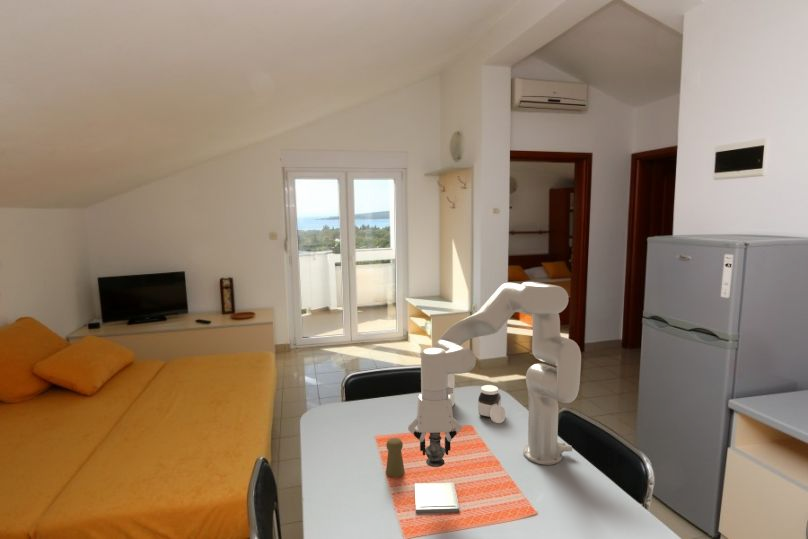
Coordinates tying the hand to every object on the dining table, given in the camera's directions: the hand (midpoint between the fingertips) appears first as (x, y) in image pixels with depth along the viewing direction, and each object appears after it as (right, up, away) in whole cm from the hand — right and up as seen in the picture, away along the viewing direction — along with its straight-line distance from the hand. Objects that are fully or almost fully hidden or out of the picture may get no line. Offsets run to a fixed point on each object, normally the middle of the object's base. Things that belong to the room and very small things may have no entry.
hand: (435, 452), depth 128 cm
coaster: (0, -14, +2) cm, 14 cm away
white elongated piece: (+7, -6, +66) cm, 67 cm away
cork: (-12, -13, +16) cm, 23 cm away
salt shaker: (0, -3, 0) cm, 3 cm away
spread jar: (+27, -8, +53) cm, 60 cm away
